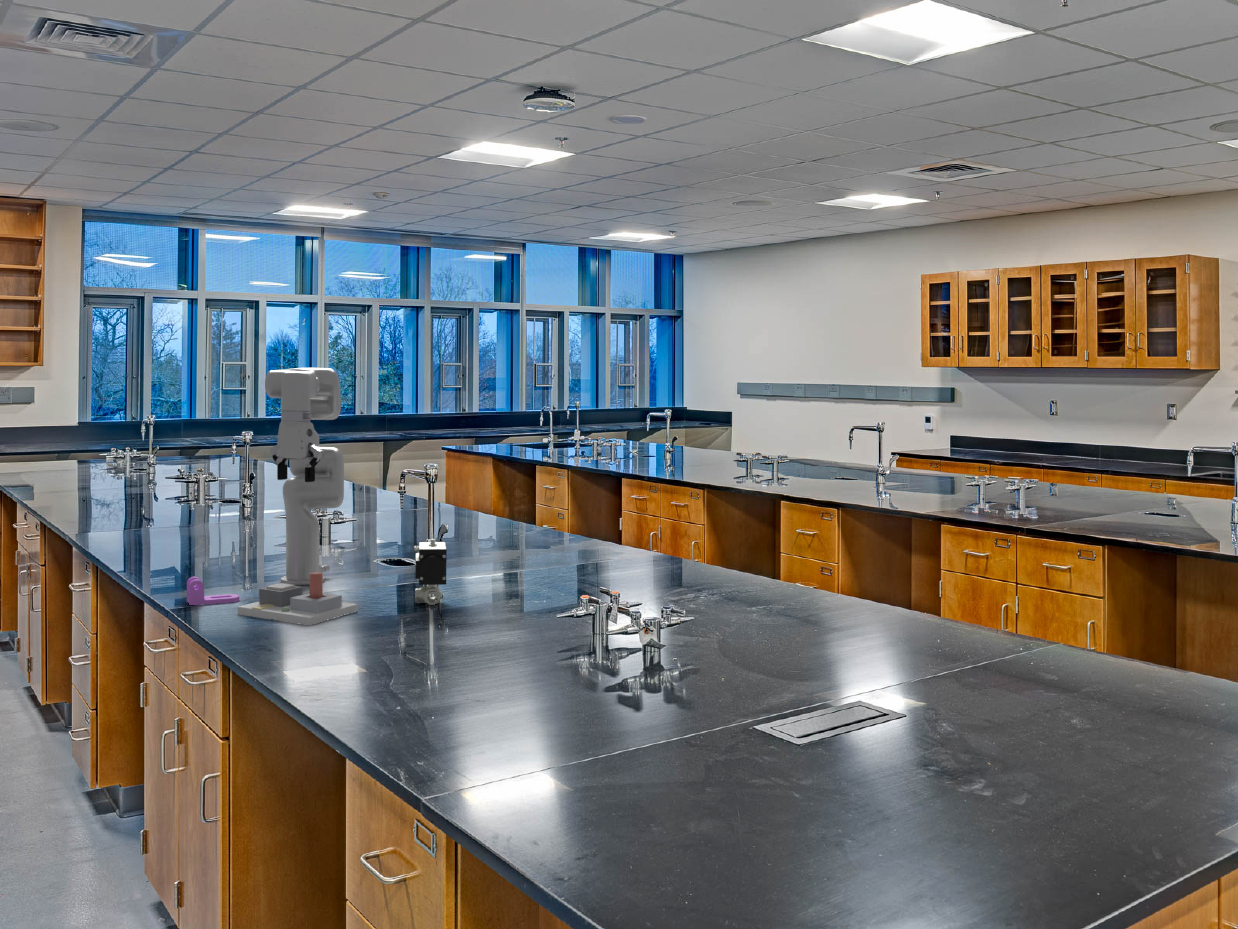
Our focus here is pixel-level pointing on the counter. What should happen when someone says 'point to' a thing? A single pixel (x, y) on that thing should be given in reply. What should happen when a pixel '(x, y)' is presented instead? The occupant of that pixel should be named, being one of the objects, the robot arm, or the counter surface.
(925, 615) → the counter surface
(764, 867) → the counter surface
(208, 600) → the bracket
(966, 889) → the counter surface
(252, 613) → the panel
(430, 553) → the ball valve
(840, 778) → the counter surface
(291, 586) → the button
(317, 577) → the peg
